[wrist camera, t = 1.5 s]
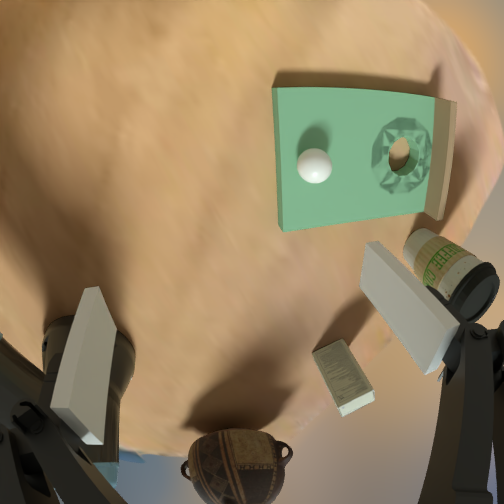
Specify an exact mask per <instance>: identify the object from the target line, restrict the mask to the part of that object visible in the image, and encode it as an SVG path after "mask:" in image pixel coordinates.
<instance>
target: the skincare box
mask: <svg viewBox="0 0 504 504" xmlns="http://www.w3.org/2000/svg"><path fill="white" fill-rule="evenodd" d="M312 355H313V358H314V361H315V363H316V365H317V367H318V369H319V371H320V373H321V376H322V378H323V380H324V382H325V384H326V386H327V388H328V390H329V392H330V394H331V396H332V398H333V400H334V402H335V405H336V407H337V408H338V411H339V413H340V415H341V416H342V417H343V416H345V415H347V414H349V413H351V412H353V411H356V410H358V409H359V408H361V407H363V406H365V405H367V404H369V403H371V402H373V401H374V400H375V396H374V389H373V388H372V386H371V384H370V382H369V381H368V379H367V377H366V376H365V374H364V372H363V371H362V369H361V367H360V366H359V364H358V362H357V361H356V359H355V357H354V356H353V354H352V352H351V351H350V349H349V347H348V346H347V344H346V342H345V341H344V339H340V340H338V341H336V342H334V343H332V344H330V345H328V346H326V347H323V348H321V349H319V350H317V351H315V352H313V353H312Z"/></svg>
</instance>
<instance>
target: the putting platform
mask: <svg viewBox="0 0 504 504" xmlns="http://www.w3.org/2000/svg"><path fill="white" fill-rule="evenodd" d="M272 100H273V117H274V135H275V155H276V176H277V201H278V225H279V227H280V228H281V230H282V231H283V232H288V231H295V230H301V229H308V228H314V227H321V226H328V225H334V224H341V223H348V222H355V221H362V220H368V219H375V218H382V217H389V216H396V215H404V214H411V213H418V212H425V213H426V214H428V215H429V216H430V217H432V218H433V219H435V220H436V221H440V220H443V216H444V211H445V206H446V200H447V194H448V188H449V182H450V175H451V168H452V160H453V151H454V141H455V128H456V112H457V102H454V101H450V100H445V99H440V98H435V97H430V96H423V95H416V94H409V93H401V92H392V91H383V90H371V89H357V88H336V87H279V88H272ZM401 137H405V138H406V139H407V141H408V144H409V147H410V153H409V159H408V160H407V162H406V164H405V166H404V167H402V168H401V169H399V170H398V171H392V170H391V168H390V165H389V163H388V159H389V151H390V149H391V147H392V145H393V143H394V142H395V141H397V140H398V139H400V138H401ZM311 148H317V149H321V150H323V151H324V152H326V153H327V154H328V155H329V157H330V159H331V161H332V171H331V174H330V176H329V177H328V178H327V179H326V180H325V181H323V182H321V183H309V182H307V181H305V180H304V179H303V178H302V177H301V176H300V175H299V173H298V170H297V160H298V158H299V156H300V155H301V154H302V153H303V152H304V151H305V150H308V149H311Z"/></svg>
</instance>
